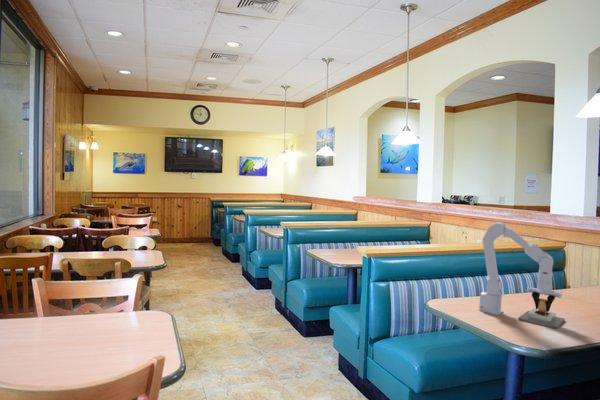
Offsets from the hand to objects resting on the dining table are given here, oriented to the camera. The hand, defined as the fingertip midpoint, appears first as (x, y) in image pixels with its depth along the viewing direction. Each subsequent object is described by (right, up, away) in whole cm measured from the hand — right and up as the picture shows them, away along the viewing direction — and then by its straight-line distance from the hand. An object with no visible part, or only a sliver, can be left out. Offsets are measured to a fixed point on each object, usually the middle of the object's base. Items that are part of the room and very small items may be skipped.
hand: (542, 309), depth 213 cm
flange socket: (0, -5, 0) cm, 5 cm away
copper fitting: (0, -2, 0) cm, 2 cm away
